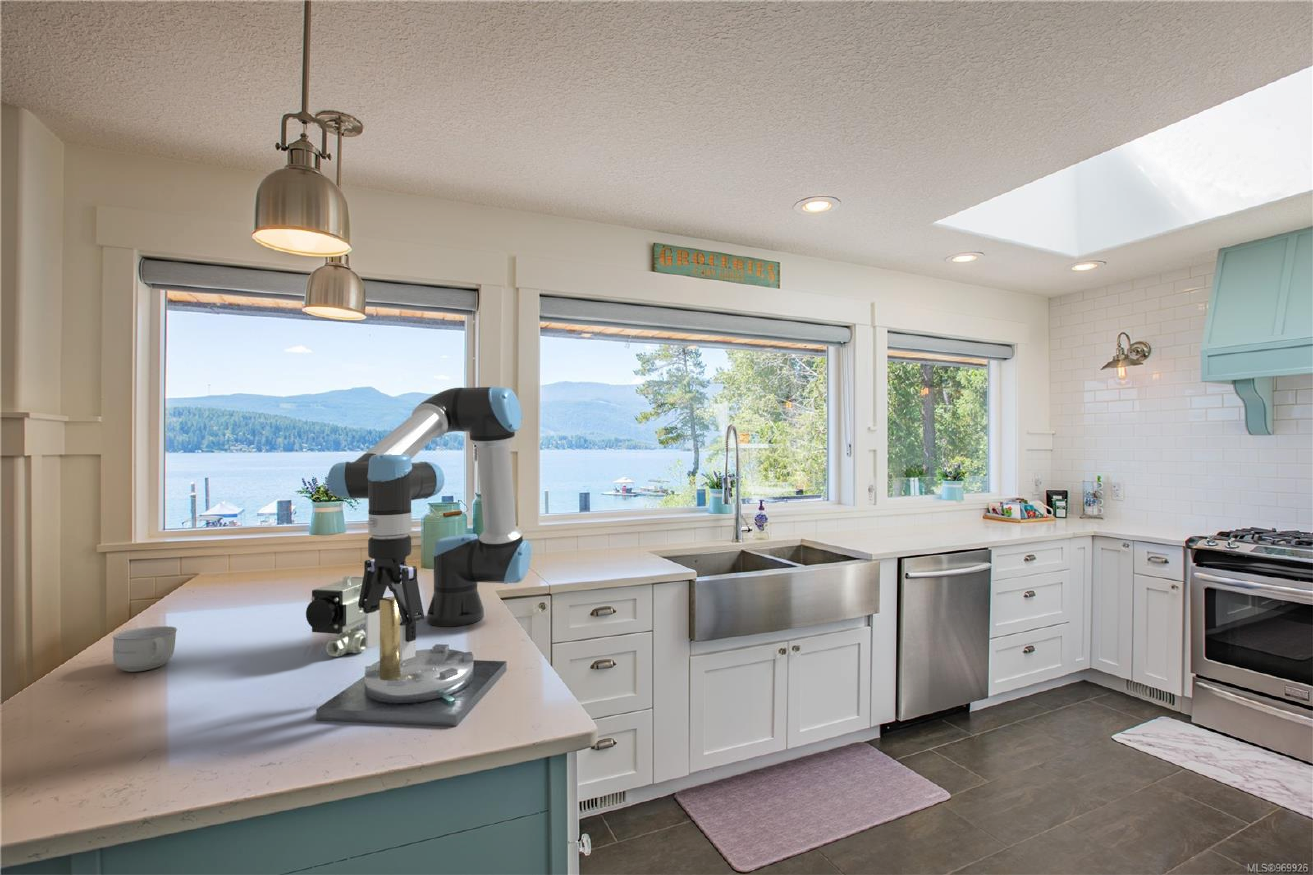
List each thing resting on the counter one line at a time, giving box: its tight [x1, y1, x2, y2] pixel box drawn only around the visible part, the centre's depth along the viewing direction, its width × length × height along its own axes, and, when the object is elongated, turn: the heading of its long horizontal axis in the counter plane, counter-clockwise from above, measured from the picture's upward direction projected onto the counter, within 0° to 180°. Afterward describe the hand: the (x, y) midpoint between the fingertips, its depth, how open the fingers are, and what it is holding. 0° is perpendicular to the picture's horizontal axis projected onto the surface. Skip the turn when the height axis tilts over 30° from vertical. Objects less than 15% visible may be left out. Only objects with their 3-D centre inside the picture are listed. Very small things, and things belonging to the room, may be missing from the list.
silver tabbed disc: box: [364, 595, 474, 703], centre depth 122 cm, size 20×20×18 cm
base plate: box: [315, 659, 508, 727], centre depth 122 cm, size 26×26×3 cm
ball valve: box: [305, 575, 380, 657], centre depth 145 cm, size 18×8×18 cm, turn 168°
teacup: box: [112, 625, 178, 673], centre depth 135 cm, size 14×11×8 cm
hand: (390, 652), depth 116 cm, fingers open, 11 cm apart
